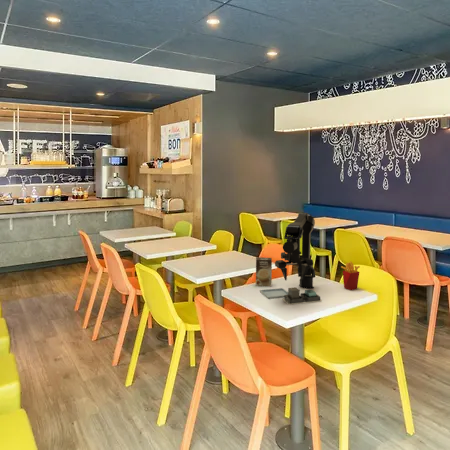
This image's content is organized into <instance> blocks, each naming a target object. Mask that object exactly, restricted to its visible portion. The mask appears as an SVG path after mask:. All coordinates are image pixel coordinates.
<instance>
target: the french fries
mask: <svg viewBox="0 0 450 450" xmlns="http://www.w3.org/2000/svg"><path fill="white" fill-rule="evenodd" d="M340 268H341V269H343V270H342V278H343V279H342V280H343V288H344V289H346V290H347V291H354V290H358V285H359V279H360V278H359V277H360V271H358V269H359V268H361V266H360V265H358V266H357V265H354V263H353V262H352V260H351V261H350V260H349V262H346V263H345V266H343V265H342V266H340Z"/></svg>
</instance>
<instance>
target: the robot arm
mask: <svg viewBox="0 0 450 450" xmlns="http://www.w3.org/2000/svg"><path fill="white" fill-rule="evenodd" d="M315 224H316V221H315V218H314V217H313V216H311V215H310V214H309V213H307V212H298V214H297V216H296V218H295V220H294V221H293V222H290V223H289V224H287V226H286V228H285V233H284V237H283V239H284V240H286V242H284V244H282V245H283V246H282V250H283V251H282V252H281V253H280V258H281V259H280V260H278V259H277V260H275V262H274V266H275V267H276V268H278V269H279V270H280V271H281V272H282V276H283V278H284V281H287V279H288V277H287V276H288V268H287V266H295V265H297V276H298V278H299V285H298V286H299V287H300V288H302V289H305V290H310V289H314V288H315V287H314V278H316V271H315V268H314V260H313V259H312V258H311V236H312V235H311V233H312V232H313V230H314V227H315Z"/></svg>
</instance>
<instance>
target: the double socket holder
mask: <svg viewBox="0 0 450 450" xmlns="http://www.w3.org/2000/svg"><path fill="white" fill-rule="evenodd" d="M282 301H283V302H284V303H286V304H287V305H289V306H291V305H299V304H310V303H317V302H322V301H323V300H322V299H321V296H320V295H318V294H317V291H315V290H314V289H305V290H304V293H303V292H302V293H300V298H299V299H290V298H289V297H288V295H284V298H282Z"/></svg>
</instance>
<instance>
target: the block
mask: <svg viewBox="0 0 450 450" xmlns="http://www.w3.org/2000/svg"><path fill="white" fill-rule="evenodd" d="M287 290H288V291H287V292H288V297H289V298H290V299H299V298H300V296H301V293H300V291H301V290H300V289H299V288H297V287H288V289H287Z"/></svg>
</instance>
